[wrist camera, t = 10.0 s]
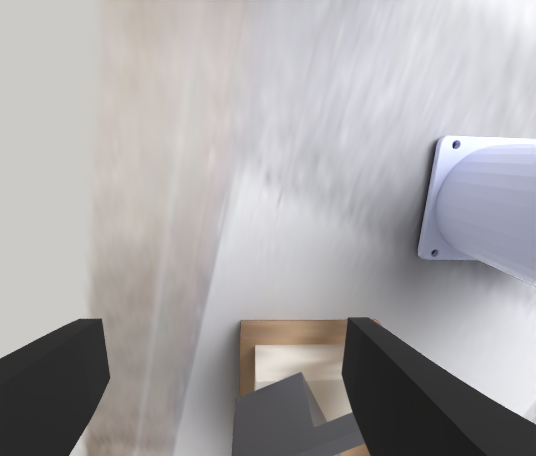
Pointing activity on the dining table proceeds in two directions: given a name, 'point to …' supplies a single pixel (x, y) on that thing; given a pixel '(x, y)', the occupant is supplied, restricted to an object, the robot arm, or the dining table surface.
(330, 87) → the dining table surface
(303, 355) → the display stand
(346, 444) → the grey notched block
